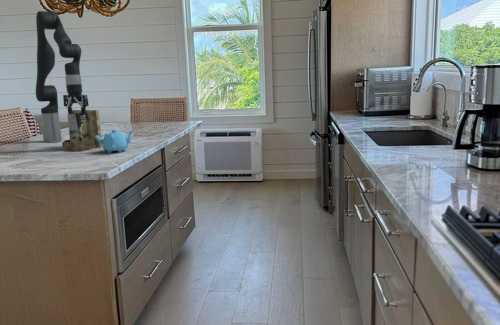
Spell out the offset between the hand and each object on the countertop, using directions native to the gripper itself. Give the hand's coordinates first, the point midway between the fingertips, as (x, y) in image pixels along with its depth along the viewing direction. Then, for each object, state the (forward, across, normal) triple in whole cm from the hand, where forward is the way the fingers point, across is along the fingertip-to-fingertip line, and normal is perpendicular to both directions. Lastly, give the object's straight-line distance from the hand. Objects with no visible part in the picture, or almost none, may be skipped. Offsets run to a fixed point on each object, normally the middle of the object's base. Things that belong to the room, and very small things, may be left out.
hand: (77, 114), depth 230 cm
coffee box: (+15, 0, 0) cm, 15 cm away
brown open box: (+18, 0, 0) cm, 18 cm away
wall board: (+18, 0, -6) cm, 19 cm away
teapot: (+18, -25, +3) cm, 31 cm away
